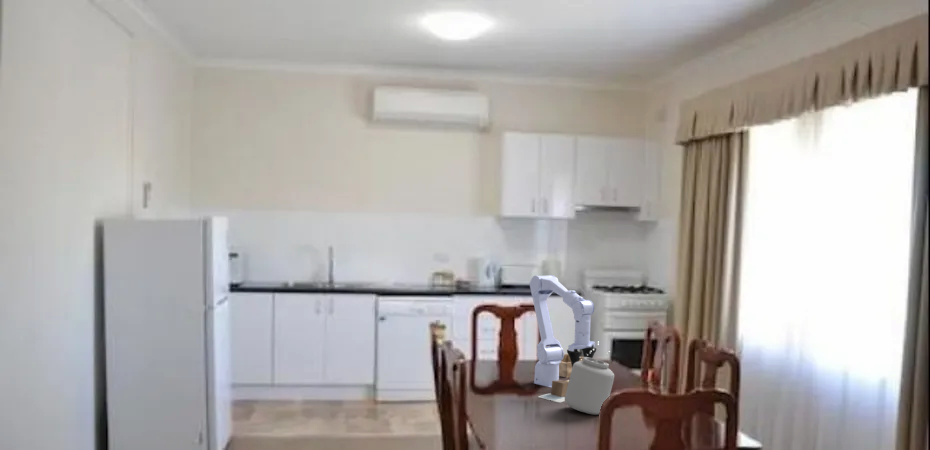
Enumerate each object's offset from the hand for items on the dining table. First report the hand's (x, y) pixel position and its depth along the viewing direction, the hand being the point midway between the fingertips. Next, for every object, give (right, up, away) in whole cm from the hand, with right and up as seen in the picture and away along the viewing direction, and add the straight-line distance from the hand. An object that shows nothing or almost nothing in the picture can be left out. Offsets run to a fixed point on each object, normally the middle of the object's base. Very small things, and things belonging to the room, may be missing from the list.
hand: (581, 367), depth 284 cm
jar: (0, -12, -23) cm, 26 cm away
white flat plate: (-11, -10, -6) cm, 16 cm away
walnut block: (-10, -7, -3) cm, 13 cm away
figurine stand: (0, -9, +37) cm, 38 cm away
